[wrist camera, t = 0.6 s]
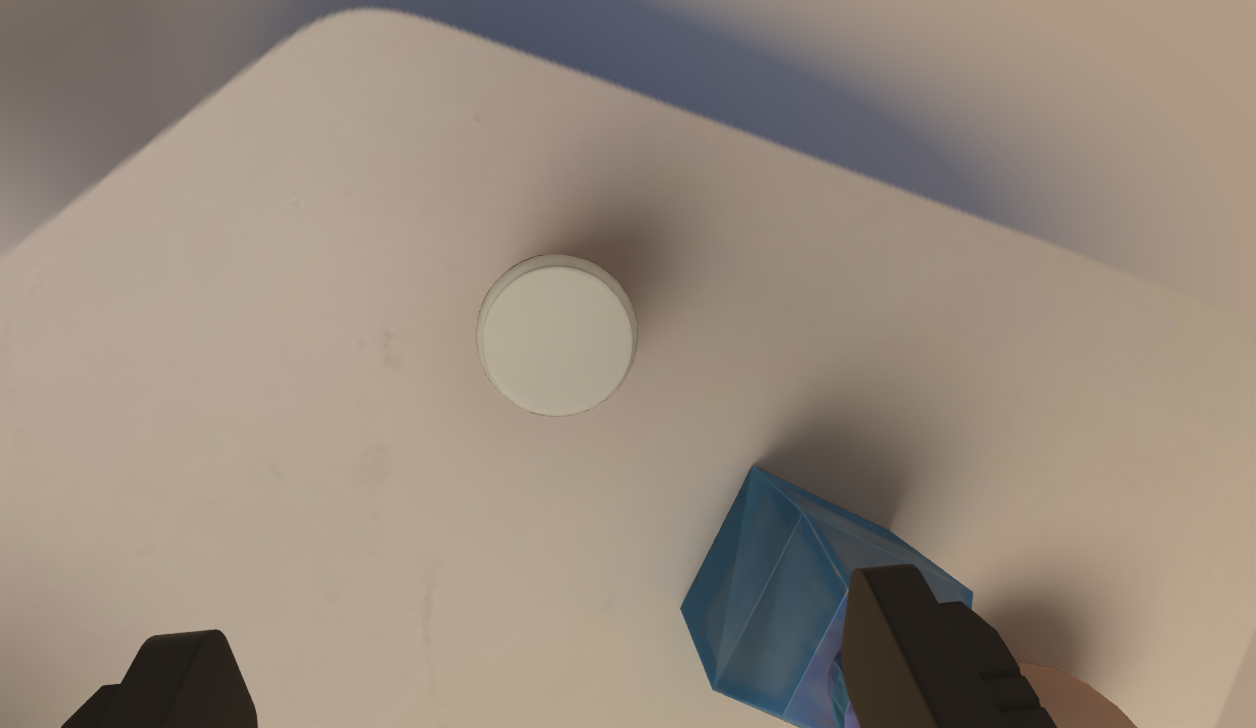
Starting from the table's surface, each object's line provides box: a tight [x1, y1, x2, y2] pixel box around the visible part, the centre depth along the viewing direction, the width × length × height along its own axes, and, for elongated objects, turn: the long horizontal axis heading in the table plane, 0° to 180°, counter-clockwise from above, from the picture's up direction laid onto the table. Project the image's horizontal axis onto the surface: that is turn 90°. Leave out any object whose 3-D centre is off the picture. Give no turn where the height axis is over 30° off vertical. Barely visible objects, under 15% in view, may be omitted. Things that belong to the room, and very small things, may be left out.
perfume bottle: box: [680, 466, 973, 728], centre depth 25 cm, size 6×6×12 cm
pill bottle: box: [476, 254, 638, 417], centre depth 25 cm, size 5×5×8 cm
